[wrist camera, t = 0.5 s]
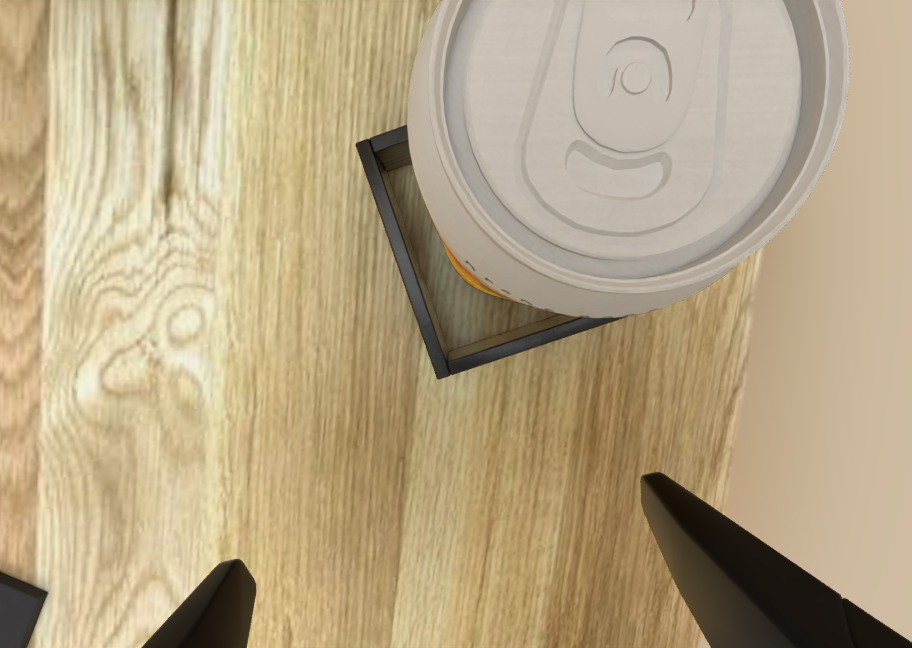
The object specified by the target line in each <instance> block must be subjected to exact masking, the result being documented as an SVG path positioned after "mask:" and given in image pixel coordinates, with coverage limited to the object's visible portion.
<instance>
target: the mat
mask: <svg viewBox="0 0 912 648" xmlns="http://www.w3.org/2000/svg"><path fill="white" fill-rule="evenodd" d="M46 595H47V593H46V592H44V591H42V590H39V589H37V588H35V587H32V586H30V585H27V584H25V583H23V582H20V581H18V580H16V579H13V578H11V577H8V576H6V575H4V574H1V573H0V648H26V647H27V644H28V641H29V639H30V636H31V634H32V631H33V628H34V626H35V623H36V621H37V618H38V615H39V613H40V610H41V608H42V605H43V602H44V600H45V597H46Z"/></svg>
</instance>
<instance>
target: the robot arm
mask: <svg viewBox="0 0 912 648" xmlns="http://www.w3.org/2000/svg"><path fill="white" fill-rule="evenodd" d="M640 482H641V504H642V508H643V511H644V514H645V516H646V518H647V520H648V523H649V525H650V527H651V530H652V532H653V534H654V536H655V539H656V541H657V543H658V545H659V548H660V550H661V552H662V555H663V557H664V559H665V561H666V564H667V566H668V568H669V571H670V573H671V575H672V577H673V579H674V581H675V584H676V586H677V588H678V589H679V591H680V593H681V595H682V597H683V599H684V600H685V602H686V604H687V606H688V608H689V609H690V611H691V613H692V615H693V616H694V618H695V620H696V622H697V624H698V625H699V627H700V629H701V631H702V632H703V634H704V636H705V638H706V639H707V641H708V643H709V645H710V646H711V648H912V642H910V641H909V640H907V639H906V638H904V637H903V636H901V635H900V634H898V633H897V632H895V631H894V630H892V629H891V628H889V627H888V626H886V625H885V624H883V623H882V622H880V621H879V620H877V619H875V618H874V617H873V616H871V615H870V614H868V613H867V612H865V611H864V610H862V609H861V608H859V607H858V606H856V605H855V604H853V603H852V602H850V601H849V600H848V599H845V598H843V599H842V597H841V595H840V594H839V593H837V592H836V591H834V590H833V589H831V588H830V587H828V586H826V585H825V584H824V583H822V582H821V581H820V580H818V579H817V578H815V577H814V576H812V575H811V574H809V573H808V572H806V571H805V570H803V569H802V568H801V567H799V566H798V565H796V564H795V563H793V562H792V561H790V560H789V559H787V558H786V557H784V556H783V555H781V554H780V553H778V552H777V551H776V550H774V549H773V548H771V547H770V546H768V545H767V544H765V543H764V542H763V541H761V540H760V539H758V538H757V537H755V536H754V535H752V534H751V533H749V532H748V531H746V530H745V529H743V528H742V527H740V526H739V525H738V524H736V523H735V522H733V521H732V520H730V519H729V518H727V517H726V516H725V515H723V514H722V513H720V512H719V511H717V510H716V509H714V508H713V507H711V506H710V505H708V504H707V503H706V502H704V501H703V500H701V499H700V498H698V497H697V496H695V495H694V494H692V493H691V492H689V491H688V490H686V489H685V488H684V487H682V486H681V485H679V484H678V483H676V482H675V481H673V480H672V479H670V478H669V477H667V476H666V475H665V474H663V473H661V472H655V473H650V474H645V475H642V476H641V480H640ZM255 597H256V583H255V580H254V578H253V577H252V575H251V574H250V572H249V570H248V569H247V567H246V566H245V564H244V563H243V562H242V560H240V559H234V560H229V561H224V562H221V563H220V564H218V565H217V566H216V567H215V568H214V569H213V570H212V572H211V573H210V574H209V575H208V576H207V577H206V578H205V579H204V580H203V581H202V582H201V583H200V585H199V586H198V587H197V588H196V589H195V590H194V591H193V592H192V593H191V594H190V595H189V596H188V598H187V599H186V600H185V601H184V602H183V603H182V604H181V605H180V606H179V607H178V608H177V610H176V611H175V612H174V613H173V614H172V615H171V616H170V617H169V618H168V619H167V620H166V621H165V623H164V624H163V625H162V626H161V627H160V628H159V629H158V630H157V631H156V632H155V633H154V634H153V636H152V637H151V638H150V639H149V640H148V641H147V642H146V643H145V644H144V645H143V646H142V647H141V648H247V643H248V637H249V631H250V626H251V620H252V614H253V608H254V602H255Z"/></svg>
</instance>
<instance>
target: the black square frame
mask: <svg viewBox="0 0 912 648" xmlns="http://www.w3.org/2000/svg"><path fill="white" fill-rule="evenodd" d="M356 147H357V150H358V153H359V156H360V159H361V162H362V165H363V168H364V170H365V173H366V176H367V179H368V182H369V185H370V188H371V190H372V193H373V196H374V199H375V202H376V205H377V208H378V211H379V213H380V216H381V219H382V222H383V225H384V228H385V231H386V233H387V236H388V239H389V242H390V245H391V248H392V251H393V254H394V256H395V259H396V262H397V265H398V268H399V271H400V274H401V276H402V279H403V282H404V285H405V288H406V291H407V294H408V297H409V299H410V302H411V305H412V308H413V311H414V314H415V317H416V319H417V322H418V325H419V328H420V331H421V334H422V337H423V340H424V342H425V345H426V348H427V351H428V354H429V357H430V360H431V363H432V365H433V368H434V371H435V374H436V377H437V379H442V378H445V377H448V376H450V374H451V375H454V374H457V373H460V372H463V371H466V370H469V369H472V368H475V367H478V366H481V365H484V364H487V363H490V362H493V361H496V360H499V359H502V358H505V357H508V356H511V355H514V354H517V353H520V352H523V351H526V350H529V349H532V348H535V347H538V346H541V345H544V344H547V343H550V342H553V341H556V340H559V339H562V338H565V337H568V336H571V335H574V334H577V333H580V332H583V331H586V330H589V329H592V328H595V327H598V326H601V325H604V324H607V323H610V322H613V321H616V320H619V319H622V318H625V317H628V316H625V317H616V318H588V317H576V316H570V315H565V314H559V315H556V316H553V317H550V318H547V319H544V320H542V321H539V322H536V323H533V324H530V325H527V326H524V327H521V328H518V329H515V330H512V331H509V332H506V333H503V334H500V335H497V336H494V337H491V338H488V339H485V340H482V341H479V342H476V343H473V344H470V345H467V346H464V347H461V348H458V349H455V350H452V351H450V352H448V349H447V346H446V343H445V340H444V337H443V334H442V331H441V329H440V326H439V323H438V320H437V317H436V314H435V311H434V308H433V305H432V302H431V300H430V297H429V294H428V291H427V288H426V285H425V282H424V279H423V276H422V273H421V271H420V268H419V265H418V262H417V259H416V256H415V253H414V250H413V247H412V244H411V242H410V239H409V236H408V233H407V230H406V227H405V224H404V221H403V218H402V215H401V213H400V210H399V207H398V204H397V201H396V198H395V195H394V192H393V189H392V186H391V183H390V181H389V178H388V175H387V172H386V171H391V170H393V169H396V168H399V167H402V166H405V165H407V164H410V163H412V159H411V155H410V150H409V140H408V130H407V125H405V126H402V127H399V128H397V129H394V130H391V131H388V132H385V133H383V134H380V135H377V136H374V137H372V138H370V140H369V139H366V140H363V141H361V142H358V143H356Z"/></svg>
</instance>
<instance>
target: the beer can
mask: <svg viewBox="0 0 912 648" xmlns="http://www.w3.org/2000/svg"><path fill="white" fill-rule="evenodd" d="M849 59H850V55H849V42H848V34H847V27H846V21H845V17H844V12H843V8H842V5H841V0H441V2H440V3H439V5H438V6H437V8H436V10H435V12H434V14H433V16H432V18H431V20H430V22H429V24H428V26H427V28H426V30H425V32H424V35H423V37H422V40H421V43H420V46H419V48H418V51H417V54H416V58H415V62H414V66H413V70H412V74H411V78H410V86H409V94H408V102H407V130H408V140H409V150H410V155H411V159H412V164H413V169H414V173H415V176H416V179H417V182H418V185H419V188H420V191H421V194H422V197H423V199H424V202H425V204H426V206H427V209H428V211H429V213H430V216H431V218H432V220H433V223H434V225H435V227H436V230H437V232H438V234H439V237H440V239H441V241H442V244H443V246H444V248H445V251H446V253H447V255H448V257H449V260H450V262H451V264H452V265H453V267H454V268H455V270H456V271H457V272H458V274H459V275H460V276H461V277H462V278H463V279H464V280H465V281H466V282H468V283H469V284H470V285H471V286H473V287H475V288H476V289H478V290H480V291H482V292H485V293H487V294H491V295H494V296H497V297H501V298H504V299H508V300H512V301H515V302H519V303H522V304H526V305H529V306H533V307H537V308H540V309H544V310H547V311H551V312H555V313H560V314H565V315H570V316H576V317H588V318H616V317H625V316H631V315H638V314H643V313H647V312H651V311H654V310H658V309H662V308H665V307H667V306H670V305H672V304H675V303H677V302H680V301H683V300H685V299H687V298H689V297H691V296H692V295H694V294H696V293H698V292H700V291H702V290H704V289H705V288H707V287H708V286H710V285H711V284H713V283H714V282H716V281H717V280H719V279H720V278H722V277H723V276H724V275H726V274H727V273H728V272H729V271H730V270H731V269H733V268H734V267H735V266H736V265H737V264H738V263H740V262H741V261H742V260H744V259H745V258H747V257H748V256H750V255H751V254H753V253H754V252H756V251H757V250H758V249H760V248H761V247H762V246H763V245H764V244H766V243H767V242H768V241H769V240H770V239H771V238H772V237H774V236H775V235H776V234H777V233H778V232H779V231H780V230H781V229H782V228H783V227H784V226H785V225H786V224H787V223H788V222H789V221H790V220H791V219H792V217H793V216H794V215H795V214H796V213H797V211H798V210H799V209H800V207H801V206H802V205H803V204H804V202H805V201H806V199H807V198H808V197H809V196H810V194H811V192H812V191H813V189H814V187H815V186H816V184H817V182H818V181H819V179H820V177H821V176H822V174H823V172H824V170H825V168H826V166H827V163H828V161H829V159H830V157H831V155H832V152H833V150H834V147H835V144H836V141H837V138H838V135H839V132H840V129H841V126H842V122H843V117H844V113H845V108H846V103H847V97H848V86H849V77H850V60H849Z"/></svg>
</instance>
